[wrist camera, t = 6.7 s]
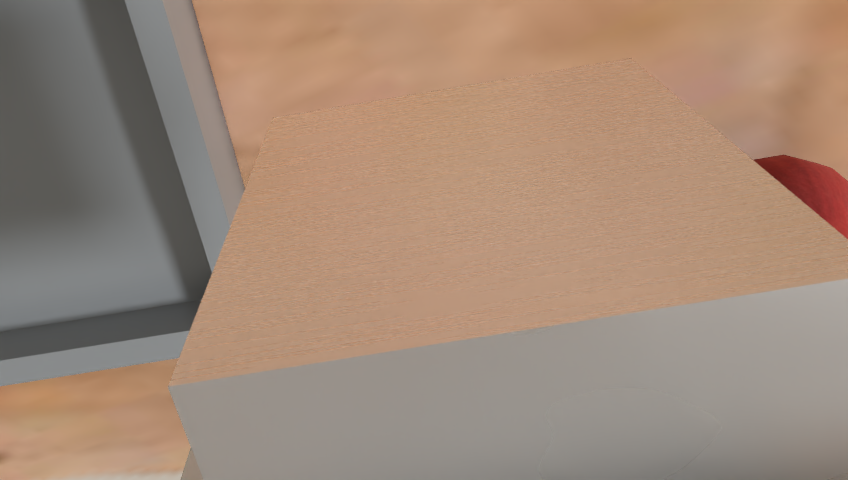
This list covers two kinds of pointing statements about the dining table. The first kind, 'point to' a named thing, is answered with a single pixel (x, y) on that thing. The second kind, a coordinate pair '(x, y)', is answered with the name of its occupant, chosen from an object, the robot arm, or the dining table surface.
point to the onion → (813, 187)
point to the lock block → (519, 297)
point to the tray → (106, 183)
